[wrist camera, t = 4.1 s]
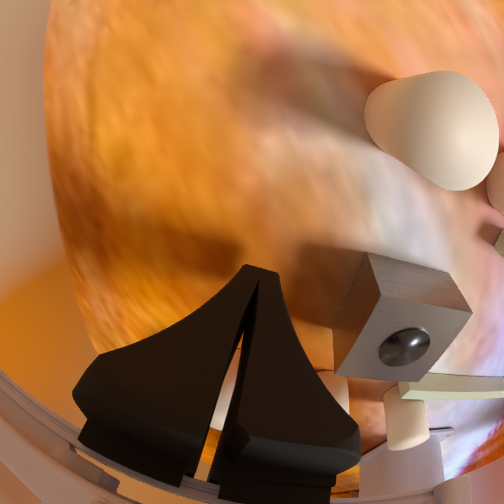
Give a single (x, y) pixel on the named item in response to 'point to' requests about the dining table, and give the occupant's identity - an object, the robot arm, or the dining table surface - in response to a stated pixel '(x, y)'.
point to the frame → (455, 378)
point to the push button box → (396, 321)
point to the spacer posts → (435, 170)
